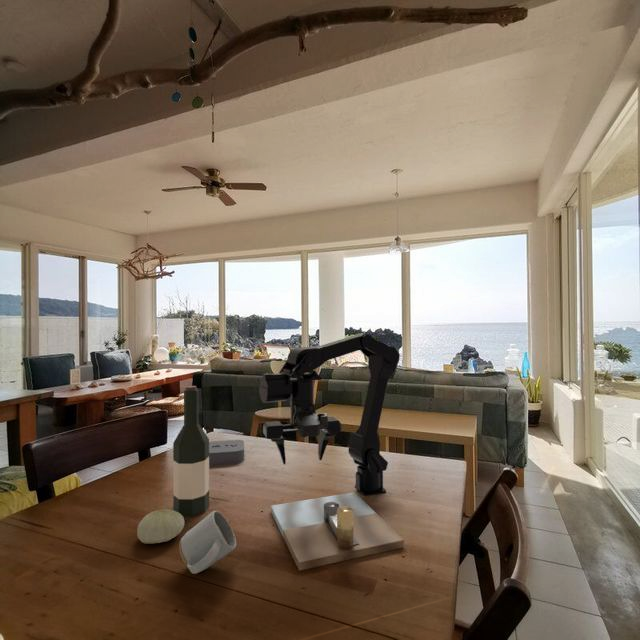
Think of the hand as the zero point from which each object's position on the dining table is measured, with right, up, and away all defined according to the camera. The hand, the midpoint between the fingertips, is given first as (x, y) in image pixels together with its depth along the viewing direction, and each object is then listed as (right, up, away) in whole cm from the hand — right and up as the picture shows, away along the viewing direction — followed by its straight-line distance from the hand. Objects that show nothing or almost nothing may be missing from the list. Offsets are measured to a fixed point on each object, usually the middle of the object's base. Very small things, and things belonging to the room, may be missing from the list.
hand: (302, 462), depth 98 cm
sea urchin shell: (-26, -11, -15) cm, 32 cm away
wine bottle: (-27, -11, -1) cm, 29 cm away
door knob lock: (+8, -9, -15) cm, 19 cm away
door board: (+7, -11, -10) cm, 17 cm away
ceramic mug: (-16, -11, -26) cm, 33 cm away
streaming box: (-28, -12, +35) cm, 46 cm away
